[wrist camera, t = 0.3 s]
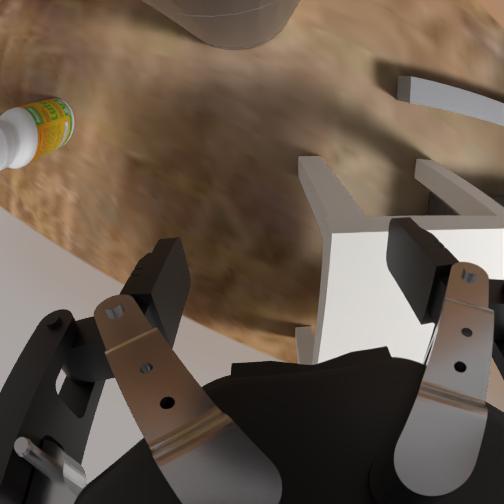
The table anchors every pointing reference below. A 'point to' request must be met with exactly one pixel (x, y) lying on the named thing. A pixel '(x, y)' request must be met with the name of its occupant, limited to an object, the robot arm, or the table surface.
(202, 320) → the table surface
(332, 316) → the low table
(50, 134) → the supplement bottle
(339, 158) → the table surface
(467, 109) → the plain stick
